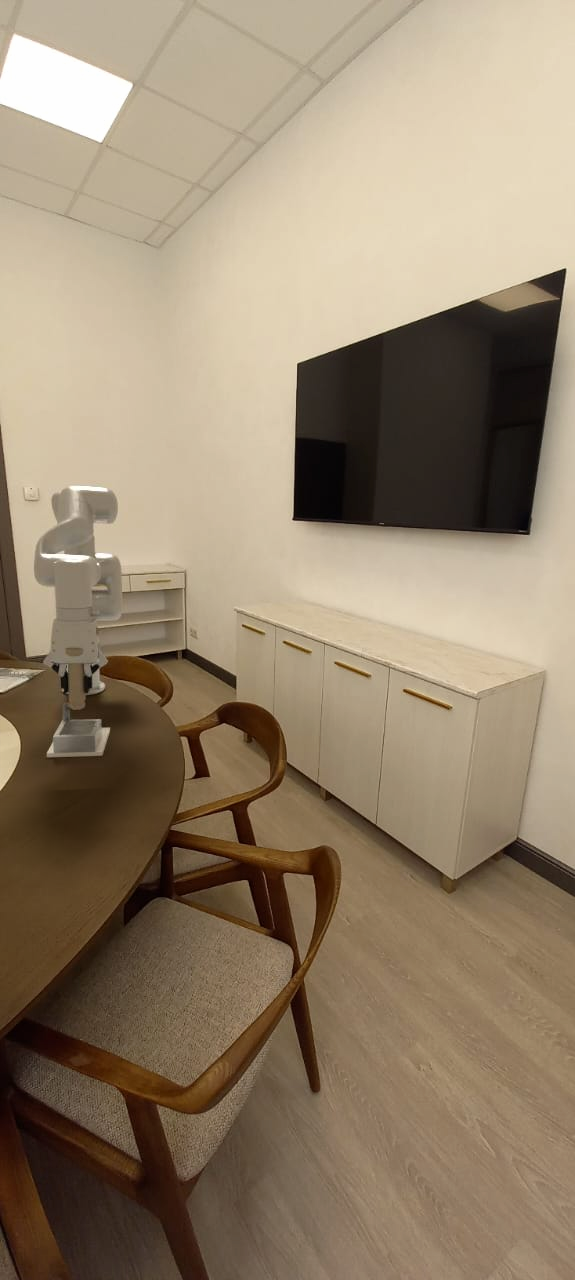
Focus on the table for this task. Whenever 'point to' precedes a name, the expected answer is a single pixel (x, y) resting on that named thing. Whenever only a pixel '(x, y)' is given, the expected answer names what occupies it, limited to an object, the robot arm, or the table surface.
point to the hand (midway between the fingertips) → (77, 690)
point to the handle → (76, 681)
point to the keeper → (78, 737)
